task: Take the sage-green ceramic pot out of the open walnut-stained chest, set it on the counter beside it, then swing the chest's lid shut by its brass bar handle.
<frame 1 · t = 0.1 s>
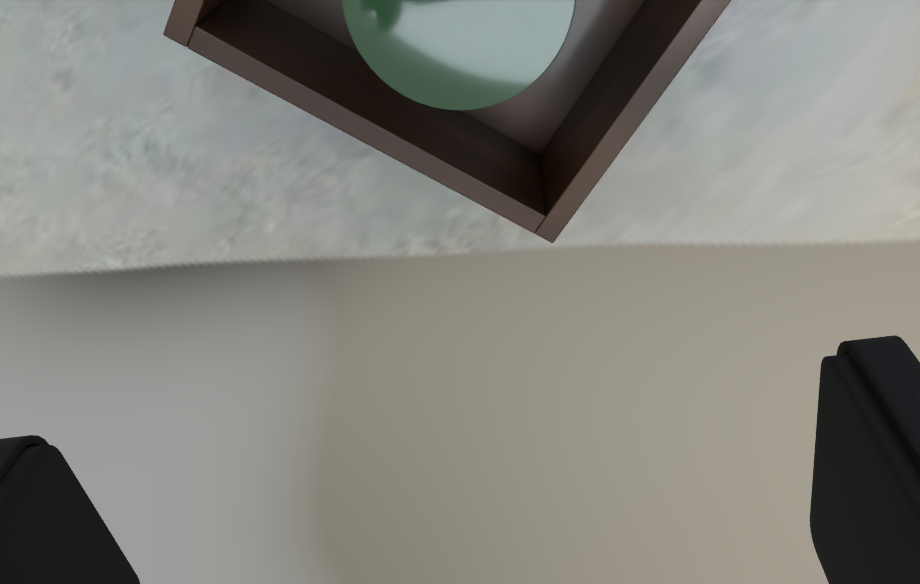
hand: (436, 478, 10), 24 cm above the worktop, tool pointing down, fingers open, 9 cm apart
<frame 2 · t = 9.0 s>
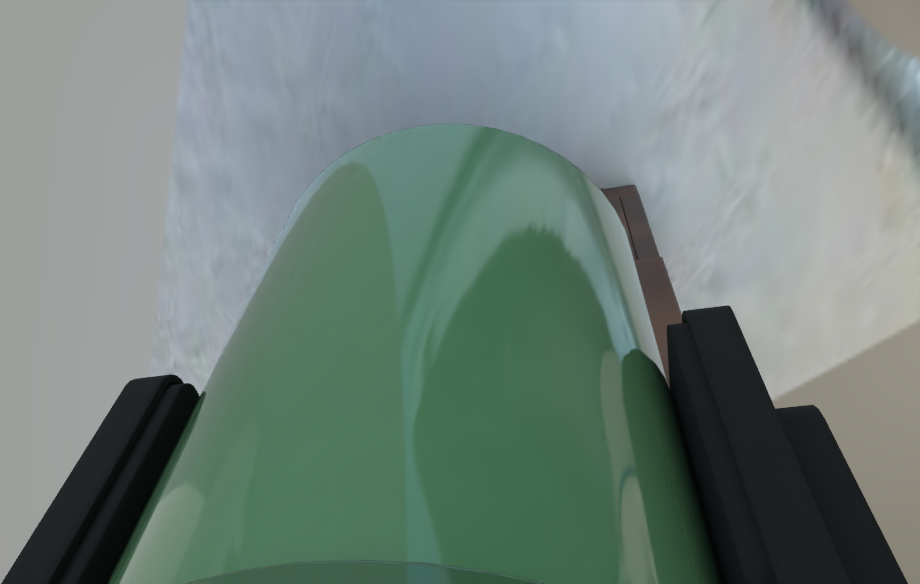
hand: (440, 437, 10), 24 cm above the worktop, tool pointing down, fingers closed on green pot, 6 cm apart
lid: (437, 352, 22), point 13 cm above the worktop, hinge at 90.0°
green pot: (454, 291, 13), point 20 cm above the worktop, touching gripper
chest: (492, 324, 38), on the worktop
when the fingers open (4 cm above the worktop, at t = 13.8 s): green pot stays where it is, on the worktop.
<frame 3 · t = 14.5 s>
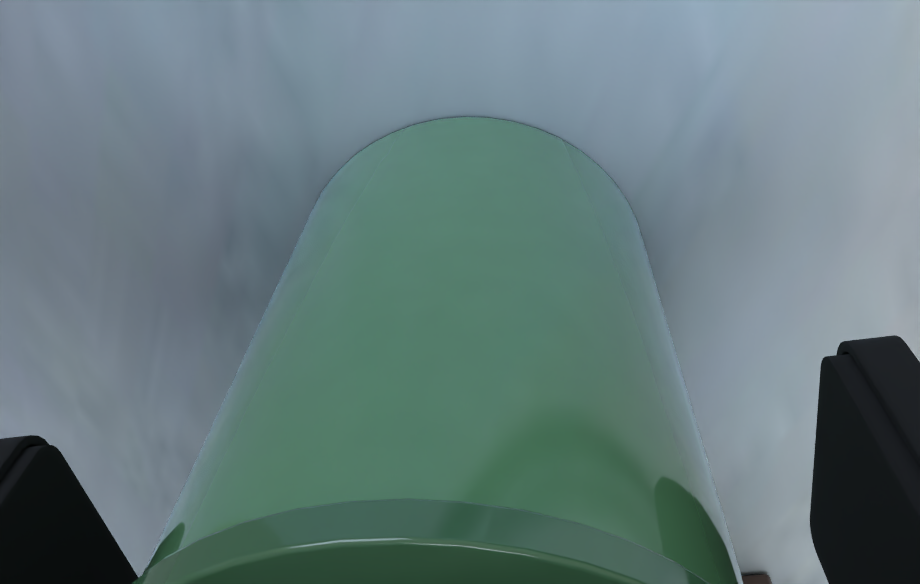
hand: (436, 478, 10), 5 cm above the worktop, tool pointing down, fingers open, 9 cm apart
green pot: (472, 278, 14), on the worktop
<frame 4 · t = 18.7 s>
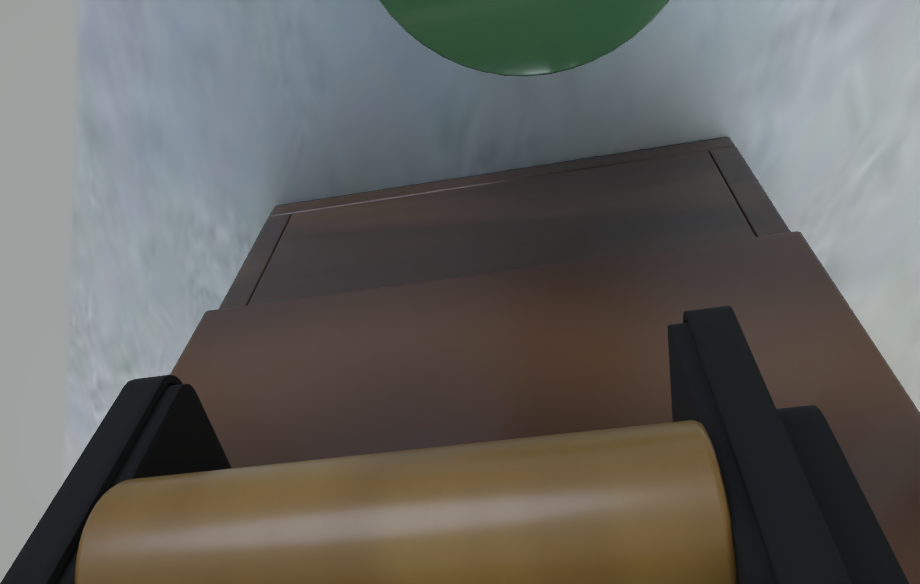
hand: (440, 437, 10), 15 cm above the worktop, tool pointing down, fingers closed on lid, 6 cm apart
lid: (459, 389, 13), point 13 cm above the worktop, hinge at 90.0°, touching gripper
chest: (521, 331, 28), on the worktop
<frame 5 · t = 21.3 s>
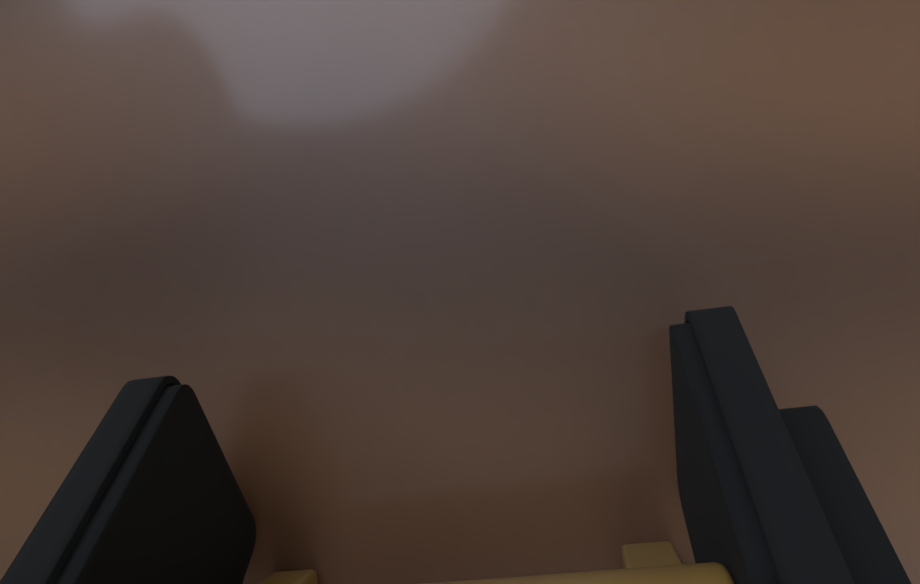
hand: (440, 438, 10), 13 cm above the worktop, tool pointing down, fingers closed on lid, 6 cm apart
lid: (406, 245, 10), point 13 cm above the worktop, hinge at 38.2°, touching gripper
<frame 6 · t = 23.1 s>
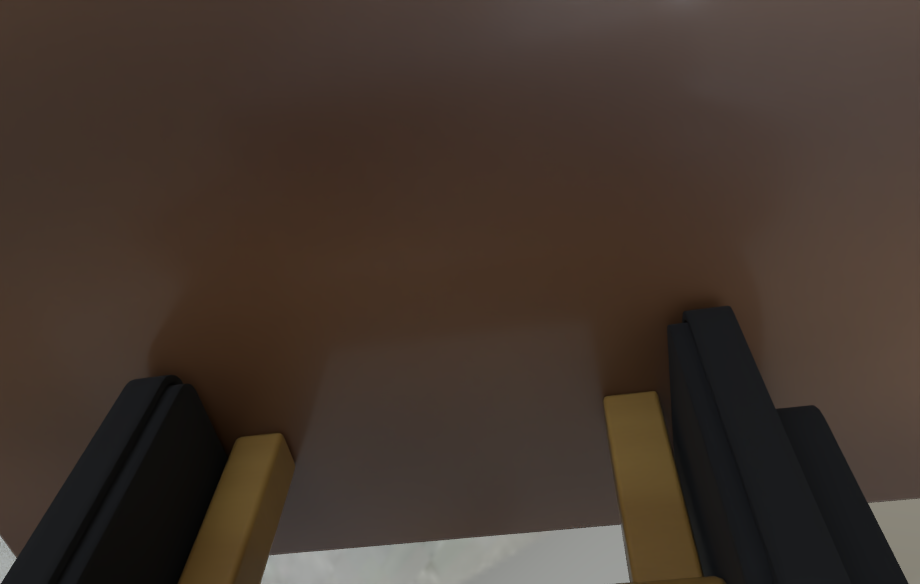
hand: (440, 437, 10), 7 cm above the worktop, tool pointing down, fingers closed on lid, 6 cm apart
lid: (325, 195, 7), point 9 cm above the worktop, hinge at -0.2°, touching chest, gripper
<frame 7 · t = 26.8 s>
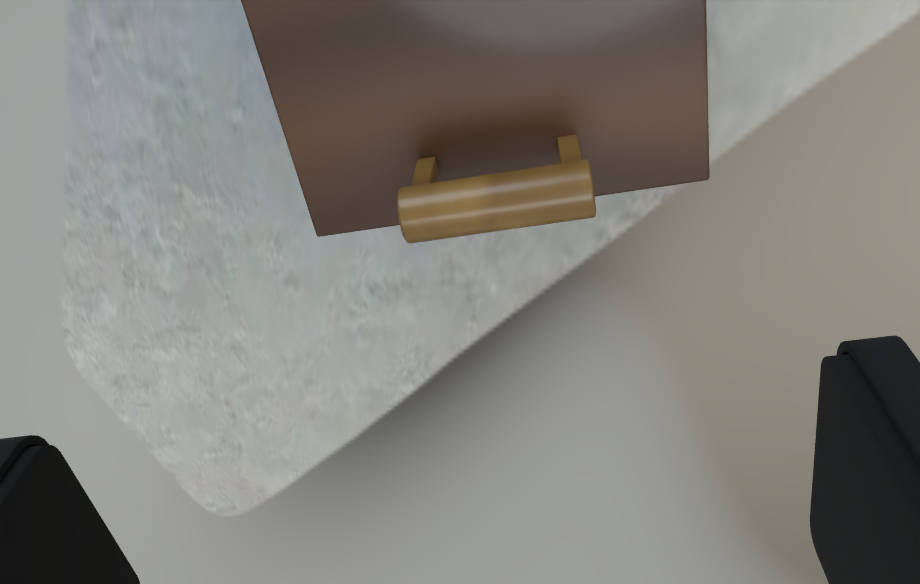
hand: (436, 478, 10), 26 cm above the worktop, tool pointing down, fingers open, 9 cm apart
lid: (473, 43, 24), point 9 cm above the worktop, hinge at -0.2°, touching chest
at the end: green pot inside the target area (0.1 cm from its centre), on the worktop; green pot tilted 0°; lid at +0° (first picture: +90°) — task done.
